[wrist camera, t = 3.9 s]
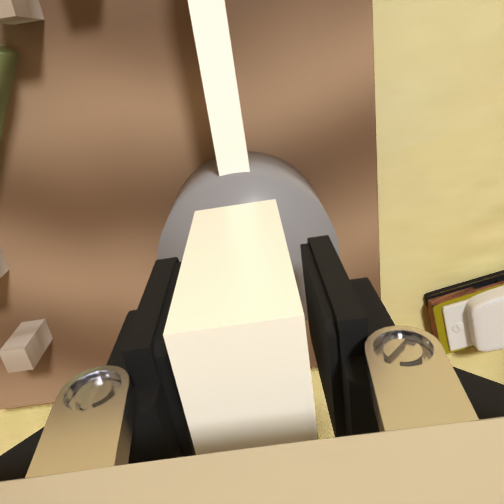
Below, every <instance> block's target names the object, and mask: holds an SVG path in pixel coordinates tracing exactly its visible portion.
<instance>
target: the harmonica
mask: <svg viewBox="0 0 504 504" xmlns="http://www.w3.org/2000/svg"><path fill="white" fill-rule="evenodd" d="M424 295H425V300H426V305H427V309H428V314H429V319H430V324H431V329H432V334H433V336H434V337H436V338H437V339H438V341H439V342H440V343H441V345H442V347H443V349H444V351H445V353H446V354H448V353H453V352H457V351H460V350H464V349H467V348H471V347H474V346H475V347H476V349H477V350H479V351H483V352H486V351H494V350H500V349H504V270H503V271H499V272H496V273H492V274H489V275H486V276H482V277H479V278H476V279H472V280H469V281H465V282H462V283H459V284H455V285H452V286H449V287H445V288H442V289H439V290H435V291H432V292H429V293H426V294H424Z"/></svg>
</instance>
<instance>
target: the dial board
mask: <svg viewBox="0 0 504 504" xmlns="http://www.w3.org/2000/svg"><path fill="white" fill-rule="evenodd" d="M225 6H226V13H227V19H228V26H229V33H230V39H231V46H232V53H233V59H234V66H235V73H236V79H237V86H238V93H239V99H240V106H241V113H242V119H243V126H244V133H245V139H246V146H247V151H254V152H261V153H267V154H270V155H273V156H276V157H278V158H280V159H282V160H285V161H286V162H288V163H289V164H291V165H293V166H294V167H295V168H296V169H298V170H299V171H300V172H301V173H302V174H303V175H304V176H305V177H306V179H307V180H308V181H309V183H310V184H311V186H312V187H313V189H314V191H315V192H316V194H317V196H318V198H319V200H320V202H321V204H322V206H323V208H324V209H325V211H326V213H327V215H328V217H329V219H330V221H331V223H332V225H333V227H334V229H335V232H336V236H337V239H338V244H339V251H340V260H341V263H342V265H343V267H344V269H345V271H346V273H347V275H348V277H349V279H357V278H364V277H368V279H369V280H370V282H371V284H372V285H373V287H374V289H375V291H376V292H377V294H378V296H379V298H380V300H381V292H380V257H379V221H378V186H377V150H376V115H375V79H374V44H373V8H372V0H225ZM214 158H216V155H215V150H214V144H213V138H212V133H211V127H210V122H209V116H208V111H207V105H206V100H205V94H204V89H203V83H202V77H201V72H200V66H199V61H198V55H197V50H196V44H195V39H194V33H193V27H192V22H191V16H190V11H189V5H188V0H0V409H8V408H15V407H22V406H30V405H37V404H45V403H52V402H54V401H55V399H56V396H57V394H58V393H59V391H60V389H61V388H62V387H63V386H64V385H65V384H66V383H67V382H68V381H69V380H71V379H72V378H74V377H75V376H76V375H78V374H80V373H82V372H84V371H86V370H88V369H92V368H95V367H99V366H106V364H107V362H108V359H109V357H110V355H111V352H112V350H113V347H114V345H115V342H116V340H117V338H118V335H119V333H120V330H121V328H122V325H123V323H124V321H125V318H126V316H127V314H128V312H129V311H131V310H137V308H138V306H139V303H140V300H141V298H142V295H143V293H144V290H145V287H146V285H147V282H148V279H149V277H150V274H151V272H152V269H153V266H154V264H155V261H156V260H157V253H158V245H159V241H160V237H161V234H162V231H163V229H164V226H165V224H166V221H167V219H168V216H169V214H170V211H171V209H172V206H173V204H174V201H175V199H176V197H177V194H178V192H179V190H180V188H181V187H182V185H183V183H184V182H185V181H186V180H187V178H188V177H189V176H190V175H191V174H192V173H193V172H194V171H195V170H196V169H197V168H199V167H200V166H202V165H203V164H204V163H206V162H208V161H210V160H212V159H214ZM305 326H306V335H307V344H308V353H309V361H310V368H312V367H318V366H317V362H316V358H315V354H314V350H313V346H312V342H311V337H310V331H309V322H308V319H307V320H306V321H305Z"/></svg>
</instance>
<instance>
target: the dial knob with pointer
mask: <svg viewBox="0 0 504 504" xmlns="http://www.w3.org/2000/svg"><path fill="white" fill-rule="evenodd" d="M188 5H189V11H190V16H191V22H192V27H193V33H194V39H195V44H196V50H197V55H198V61H199V66H200V72H201V77H202V83H203V89H204V94H205V100H206V105H207V111H208V116H209V122H210V127H211V133H212V138H213V144H214V150H215V155H216V158H214V159H212V160H210V161H208V162H206V163H204V164H203V165H202V166H200V167H199V168H197V169H196V170H195V171H194V172H193V173H192V174H191V175H190V176H189V177H188V178H187V180H186V181H185V182H184V183H183V185H182V187H181V188H180V190H179V192H178V194H177V197H176V199H175V201H174V204H173V206H172V209H171V211H170V214H169V216H168V219H167V221H166V224H165V226H164V229H163V231H162V234H161V237H160V241H159V245H158V253H157V260H158V259H165V258H172V257H177V258H178V259H179V262H181V261H182V263H181V267H180V271H179V275H178V279H177V282H176V286H175V290H174V294H173V298H172V302H171V306H170V310H169V313H168V317H167V321H166V325H165V329H164V333H163V337H164V341H165V344H166V348H167V351H168V355H169V359H170V362H171V366H172V370H173V373H174V377H175V380H176V384H177V388H178V391H179V395H180V398H181V402H182V406H183V409H184V413H185V416H186V420H187V424H188V427H189V431H190V434H191V438H192V442H193V445H194V449H195V453H196V455H202V454H209V453H217V452H225V451H232V450H240V449H248V448H256V447H264V446H271V445H279V444H287V443H295V442H303V441H311V440H318V432H317V423H316V414H315V405H314V396H313V388H312V379H311V370H310V361H309V353H308V344H307V335H306V326H305V321H306V320H307V319H308V313H307V304H306V295H305V286H304V277H303V267H302V258H301V249H300V244H306V243H307V238H310V237H317V236H324V235H328V236H329V237H330V239H331V242H332V244H333V246H334V248H335V250H336V252H337V254H338V256H339V258H340V251H339V244H338V239H337V236H336V232H335V229H334V227H333V225H332V223H331V221H330V219H329V217H328V215H327V213H326V211H325V209H324V208H323V206H322V204H321V202H320V200H319V198H318V196H317V194H316V192H315V191H314V189H313V187H312V186H311V184H310V183H309V181H308V180H307V179H306V177H305V176H304V175H303V174H302V173H301V172H300V171H299V170H298V169H296V168H295V167H294V166H293V165H291V164H289V163H288V162H286V161H285V160H282V159H280V158H278V157H276V156H273V155H270V154H267V153H261V152H254V151H247V146H246V139H245V133H244V126H243V119H242V113H241V106H240V99H239V93H238V86H237V79H236V73H235V66H234V59H233V53H232V46H231V39H230V33H229V26H228V19H227V13H226V6H225V0H188Z"/></svg>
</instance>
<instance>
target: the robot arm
mask: <svg viewBox="0 0 504 504" xmlns="http://www.w3.org/2000/svg"><path fill="white" fill-rule="evenodd" d="M300 249H301V258H302V267H303V277H304V286H305V295H306V304H307V313H308V322H309V331H310V337H311V342H312V346H313V350H314V354H315V358H316V362H317V366H318V370H319V374H320V378H321V382H322V386H323V390H324V394H325V398H326V402H327V406H328V411H329V415H330V419H331V423H332V427H333V431H334V435H335V437H334V438H326V439H319V440H311V441H303V442H295V443H287V444H279V445H271V446H264V447H256V448H248V449H240V450H232V451H225V452H217V453H209V454H202V455H196V453H195V449H194V445H193V442H192V438H191V434H190V431H189V427H188V424H187V420H186V416H185V413H184V409H183V406H182V402H181V398H180V395H179V391H178V388H177V384H176V380H175V377H174V373H173V370H172V366H171V362H170V359H169V355H168V351H167V348H166V344H165V341H164V337H163V333H164V329H165V325H166V321H167V317H168V313H169V310H170V306H171V302H172V298H173V294H174V290H175V286H176V282H177V279H178V275H179V271H180V267H181V263H182V261H181V262H179V259H178V258H177V257H172V258H165V259H158V260H156V261H155V264H154V266H153V269H152V272H151V274H150V277H149V279H148V282H147V285H146V287H145V290H144V293H143V295H142V298H141V300H140V303H139V306H138V308H137V310H131V311H129V312H128V314H127V316H126V318H125V321H124V323H123V325H122V328H121V330H120V333H119V335H118V338H117V340H116V342H115V345H114V347H113V350H112V352H111V355H110V357H109V359H108V362H107V364H106V366H99V367H95V368H92V369H88V370H86V371H84V372H82V373H80V374H78V375H76V376H75V377H74V378H72V379H71V380H69V381H68V382H67V383H66V384H65V385H64V386H63V387H62V388H61V389H60V391H59V393H58V394H57V396H56V399H55V401H54V404H53V406H52V409H51V412H50V414H49V417H48V419H47V422H46V425H45V427H43V428H42V429H40V430H39V431H37V432H36V433H34V434H33V435H31V436H30V437H28V438H27V439H25V440H24V441H22V442H21V443H19V444H17V445H16V446H14V447H13V448H11V449H10V450H8V451H7V452H5V453H4V454H2V455H1V456H0V504H504V385H503V384H500V383H497V382H494V381H491V380H489V379H486V378H483V377H480V376H477V375H475V374H472V373H469V372H466V371H464V370H461V369H458V368H455V367H453V366H452V364H451V362H450V360H449V358H448V356H447V354H446V353H445V351H444V349H443V347H442V345H441V343H440V342H439V341H438V339H437V338H436V337H434V336H433V335H432V334H430V333H429V332H427V331H424V330H421V329H419V328H415V327H410V326H395V324H394V323H393V321H392V319H391V317H390V316H389V314H388V312H387V310H386V308H385V307H384V305H383V303H382V301H381V300H380V298H379V296H378V294H377V292H376V291H375V289H374V287H373V285H372V284H371V282H370V280H369V279H368V277H364V278H357V279H349V277H348V275H347V273H346V271H345V269H344V267H343V265H342V263H341V260H340V258H339V256H338V254H337V252H336V250H335V248H334V246H333V244H332V242H331V239H330V237H329V236H328V235H324V236H317V237H310V238H307V243H306V244H300Z"/></svg>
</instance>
